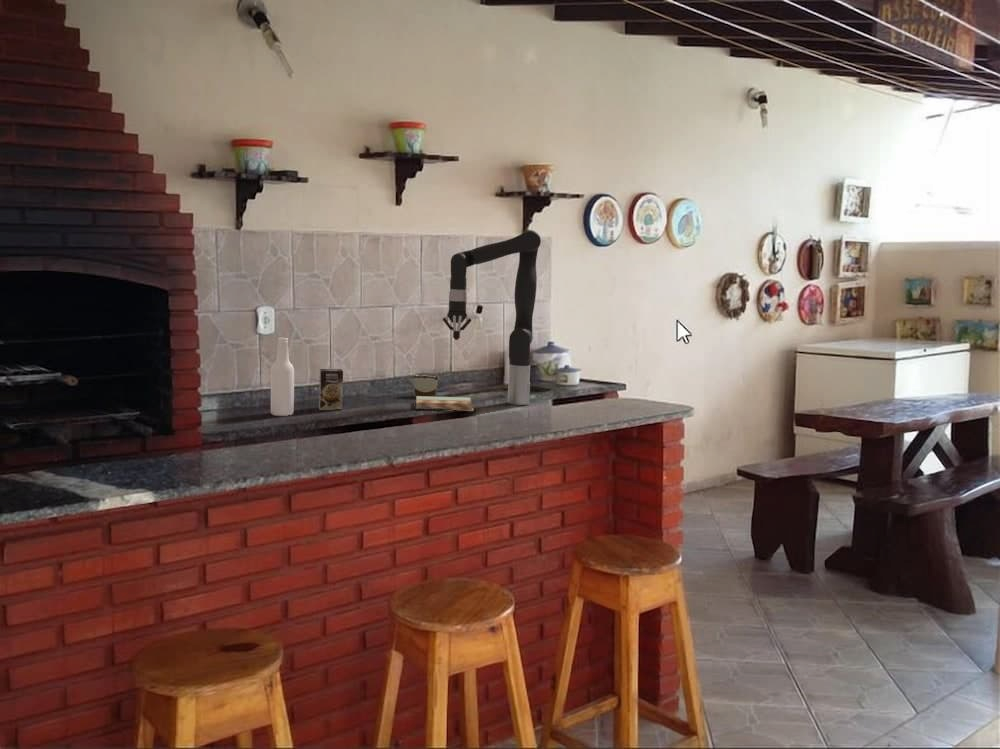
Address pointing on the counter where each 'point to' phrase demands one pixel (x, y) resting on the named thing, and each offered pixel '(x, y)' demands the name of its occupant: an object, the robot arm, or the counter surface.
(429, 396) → the board
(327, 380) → the coffee box
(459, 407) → the floor frame
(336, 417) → the counter surface
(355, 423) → the counter surface
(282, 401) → the alcohol
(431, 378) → the food container
